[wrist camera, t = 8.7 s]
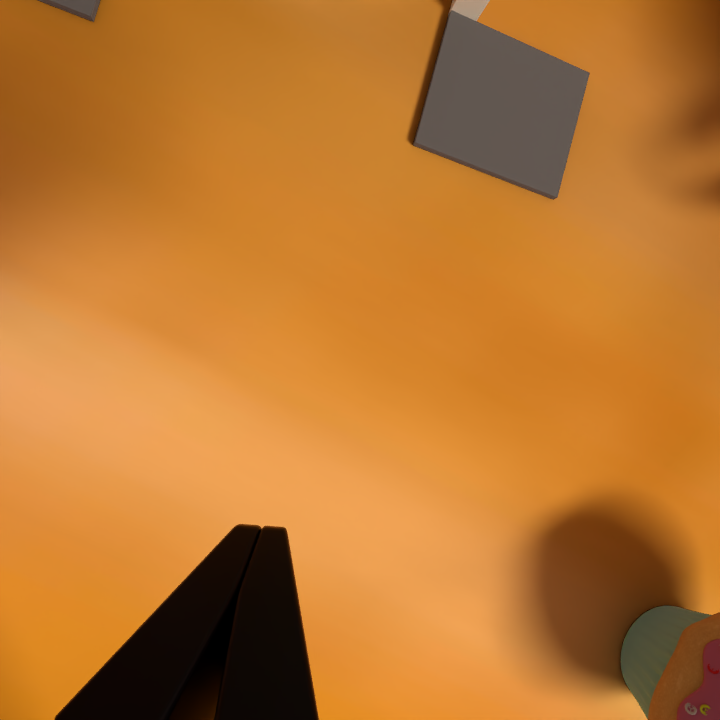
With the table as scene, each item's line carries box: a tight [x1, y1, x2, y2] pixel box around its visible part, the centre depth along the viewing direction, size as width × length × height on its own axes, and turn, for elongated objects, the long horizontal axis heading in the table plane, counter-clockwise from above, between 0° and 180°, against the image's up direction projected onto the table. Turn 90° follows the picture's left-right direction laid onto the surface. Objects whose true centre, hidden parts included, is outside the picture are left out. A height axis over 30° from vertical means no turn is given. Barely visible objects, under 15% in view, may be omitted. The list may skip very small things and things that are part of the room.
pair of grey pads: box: [38, 0, 589, 199], centre depth 19 cm, size 6×27×1 cm, turn 74°
